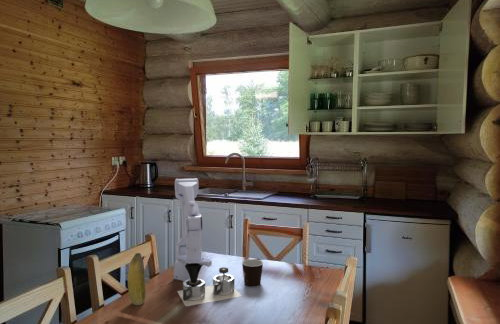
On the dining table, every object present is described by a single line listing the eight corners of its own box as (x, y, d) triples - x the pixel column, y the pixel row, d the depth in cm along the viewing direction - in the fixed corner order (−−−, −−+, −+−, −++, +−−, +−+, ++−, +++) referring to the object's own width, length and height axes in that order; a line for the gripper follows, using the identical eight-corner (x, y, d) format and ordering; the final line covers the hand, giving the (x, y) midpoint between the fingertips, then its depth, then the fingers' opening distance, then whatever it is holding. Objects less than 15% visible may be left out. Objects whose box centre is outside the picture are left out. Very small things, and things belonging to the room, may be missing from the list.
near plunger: (185, 294, 144) (185, 282, 144) (192, 289, 149) (192, 278, 148) (196, 296, 142) (195, 285, 142) (202, 291, 147) (202, 280, 146)
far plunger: (215, 281, 149) (215, 270, 149) (221, 276, 153) (221, 266, 153) (226, 283, 147) (226, 272, 147) (231, 279, 151) (231, 268, 151)
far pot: (205, 295, 146) (205, 282, 146) (219, 285, 156) (219, 272, 156) (225, 299, 143) (225, 285, 142) (237, 289, 153) (237, 275, 152)
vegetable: (134, 311, 135) (132, 256, 134) (124, 306, 140) (123, 253, 138) (148, 305, 140) (147, 252, 138) (138, 300, 144) (137, 249, 142)
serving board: (185, 308, 137) (185, 306, 137) (177, 293, 150) (177, 291, 150) (241, 298, 146) (241, 296, 146) (229, 284, 159) (229, 282, 159)
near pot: (174, 301, 142) (174, 287, 141) (191, 290, 151) (190, 276, 151) (193, 305, 138) (193, 291, 138) (209, 294, 148) (209, 280, 147)
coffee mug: (260, 291, 153) (261, 267, 152) (240, 289, 155) (240, 265, 154) (265, 280, 164) (265, 257, 163) (246, 278, 166) (246, 256, 165)
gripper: (171, 247, 143) (172, 282, 145) (204, 252, 137) (204, 289, 139) (182, 242, 150) (182, 275, 151) (214, 247, 144) (214, 282, 145)
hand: (194, 281), depth 145 cm, fingers closed, pressing on near plunger
